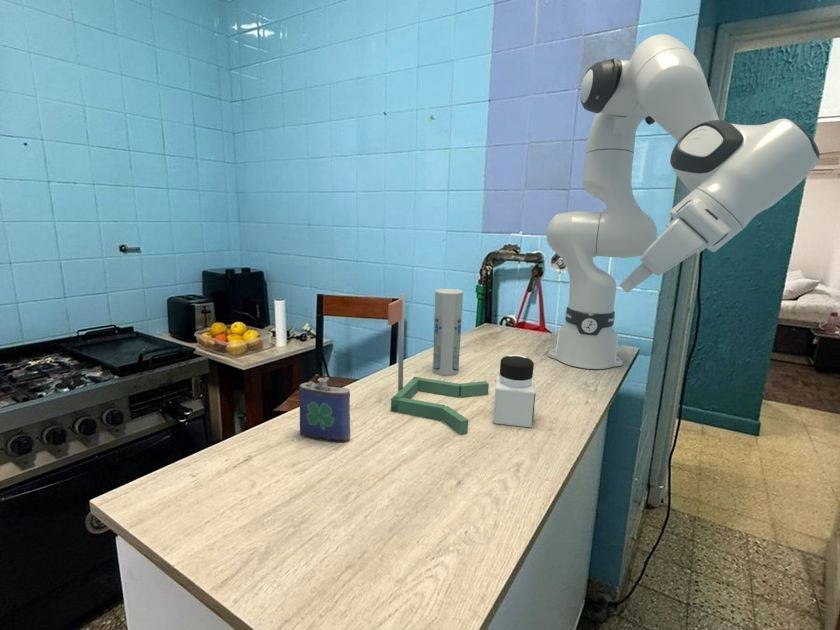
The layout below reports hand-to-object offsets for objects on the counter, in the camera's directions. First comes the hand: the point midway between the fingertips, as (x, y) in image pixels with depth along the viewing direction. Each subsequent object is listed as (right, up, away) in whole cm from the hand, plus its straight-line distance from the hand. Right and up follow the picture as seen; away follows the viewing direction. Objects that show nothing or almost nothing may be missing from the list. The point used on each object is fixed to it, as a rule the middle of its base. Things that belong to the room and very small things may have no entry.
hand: (625, 287), depth 72 cm
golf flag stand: (-30, -23, +18) cm, 41 cm away
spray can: (-27, -19, +36) cm, 49 cm away
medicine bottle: (-16, -24, +13) cm, 32 cm away
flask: (-50, -26, +4) cm, 56 cm away
